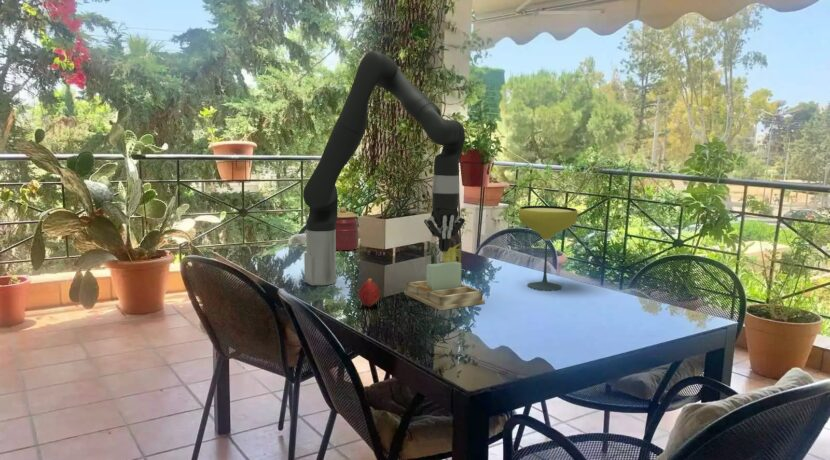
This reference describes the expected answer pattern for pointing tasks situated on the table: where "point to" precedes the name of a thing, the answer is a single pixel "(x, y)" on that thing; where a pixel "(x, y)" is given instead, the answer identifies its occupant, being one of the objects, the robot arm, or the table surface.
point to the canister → (346, 230)
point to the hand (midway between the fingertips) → (443, 251)
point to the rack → (444, 296)
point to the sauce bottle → (453, 250)
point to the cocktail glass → (547, 231)
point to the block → (443, 276)
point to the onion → (369, 293)
